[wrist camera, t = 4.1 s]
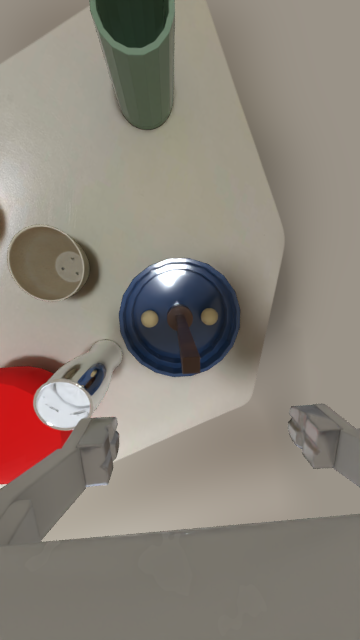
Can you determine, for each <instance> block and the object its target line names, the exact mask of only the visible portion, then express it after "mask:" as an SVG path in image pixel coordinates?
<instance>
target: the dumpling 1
mask: <svg viewBox="0 0 360 640" xmlns="http://www.w3.org/2000/svg"><path fill="white" fill-rule="evenodd" d="M141 322H142V324H143V325H144V326H145V327H148V328H151V327H154V326H155V325H156V324H157V323H158V315H157V314H156V313H155V312H154V311H152V310H148V311H145V312H144V313H143V314H142V316H141Z"/></svg>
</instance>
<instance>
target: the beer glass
mask: <svg viewBox="0 0 360 640" xmlns="http://www.w3.org/2000/svg"><path fill="white" fill-rule="evenodd" d="M121 361H122V351H121V348H120V347H119V346H118V345H117V344H116V343H115V342H113V341H111V340H100V341H97V342H96V343H94V344H93V345H92V347H91V348H90V350H89V352H87V353H85V354H83V355H81V356H78V357H76V358H74V359H73V360H71V361H69V362H67V363H66V364H65V365H63V366H62V367H61V368H60V369H58V370H57V371H56V372H55V373H54V374H53V375H52V376H51V377H50V378H49V379H48V380H47V381H46V382H45V383H44V384H43V385H42V386H40V387H39V389H38V390H37V391H36V393H35V395H34V399H33V407H34V411H35V413H36V415H37V417H38V418H39V419H40V420H41V421H42V422H43V423H44V424H46V425H47V426H49V427H51V428H53V429H57V430H63V431H68V430H74V428H75V427H76V425H77V424H78V422H79V421H80V420H81V419H82V418H90V417H91V415H92V414H93V413H94V411H95V410H96V409H97V407H98V406H99V404H100V403H101V401H102V399H103V398H104V396H105V394H106V392H107V390H108V387H109V384H110V381H111V377H112V373H113V370H114V369H115V368H116V367H118V365H119V364H120V363H121Z"/></svg>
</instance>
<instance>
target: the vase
mask: <svg viewBox="0 0 360 640" xmlns="http://www.w3.org/2000/svg"><path fill="white" fill-rule="evenodd" d="M52 375H53V373H51V372H49V371H47V370H44V369H41V368H36V367H31V366H20V367H7V368H0V484H8V483H10V482H11V481H13V480H14V479H16V478H17V477H18V476H20V475H21V474H23V473H24V472H26V471H27V470H28V469H30V468H31V467H33V466H34V465H35V464H37V463H38V462H40V461H41V460H43V459H44V458H45V457H47V456H48V455H50V454H51V453H53V452H54V451H55V450H57V449H61V448H62V447H63V445H64V444H65V442H66V441H67V439H68V437H69V436H70V434H71V433H72V431H73V430H68V431H63V430H57V429H53V428H51V427H49V426H47V425H46V424H44V423H43V422H42V421H41V420H40V419H39V418H38V417H37V415H36V413H35V411H34V407H33V399H34V395H35V393H36V391H37V390H38V389H39V387H40V386H42V385H43V384H44V383H45V382H46V381H47V380H48V379H49V378H50V377H51V376H52Z"/></svg>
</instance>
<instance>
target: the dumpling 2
mask: <svg viewBox="0 0 360 640" xmlns="http://www.w3.org/2000/svg"><path fill="white" fill-rule="evenodd" d="M201 320H202V322H203V323H204V324H206V325H213V324H215V323H216V322H217V320H218V313H217V312H216V310H214V309H212V308H207V309H205V310H203V312H202V313H201Z"/></svg>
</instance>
